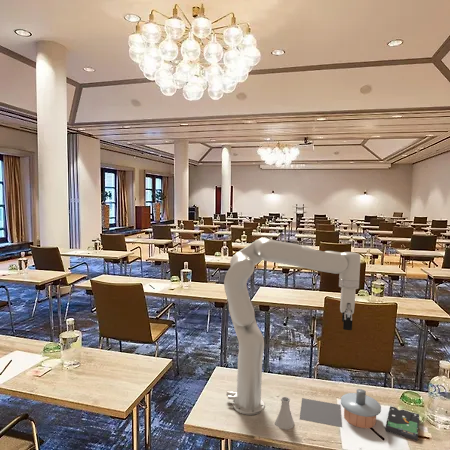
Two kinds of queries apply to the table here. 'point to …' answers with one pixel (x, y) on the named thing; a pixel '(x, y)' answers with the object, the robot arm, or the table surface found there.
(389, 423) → the disk drive
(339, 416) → the mat
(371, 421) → the bowl
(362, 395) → the lid
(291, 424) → the flask
